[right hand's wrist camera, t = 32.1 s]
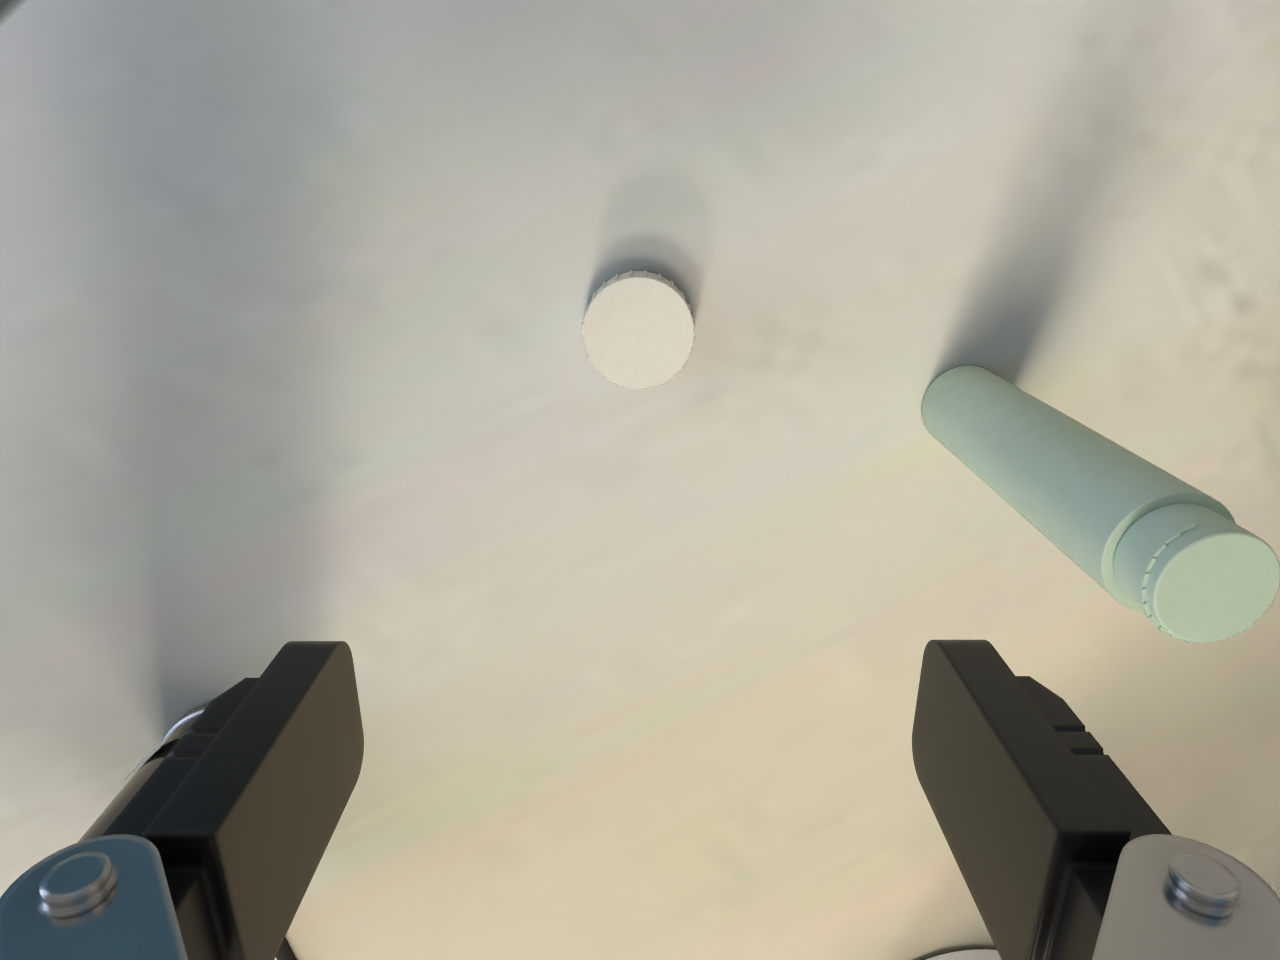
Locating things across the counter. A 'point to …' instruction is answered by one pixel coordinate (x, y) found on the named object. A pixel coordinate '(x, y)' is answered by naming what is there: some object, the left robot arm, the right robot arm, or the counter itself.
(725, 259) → the counter surface
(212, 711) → the right robot arm
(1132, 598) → the pale green cylinder
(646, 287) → the lid
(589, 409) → the counter surface
